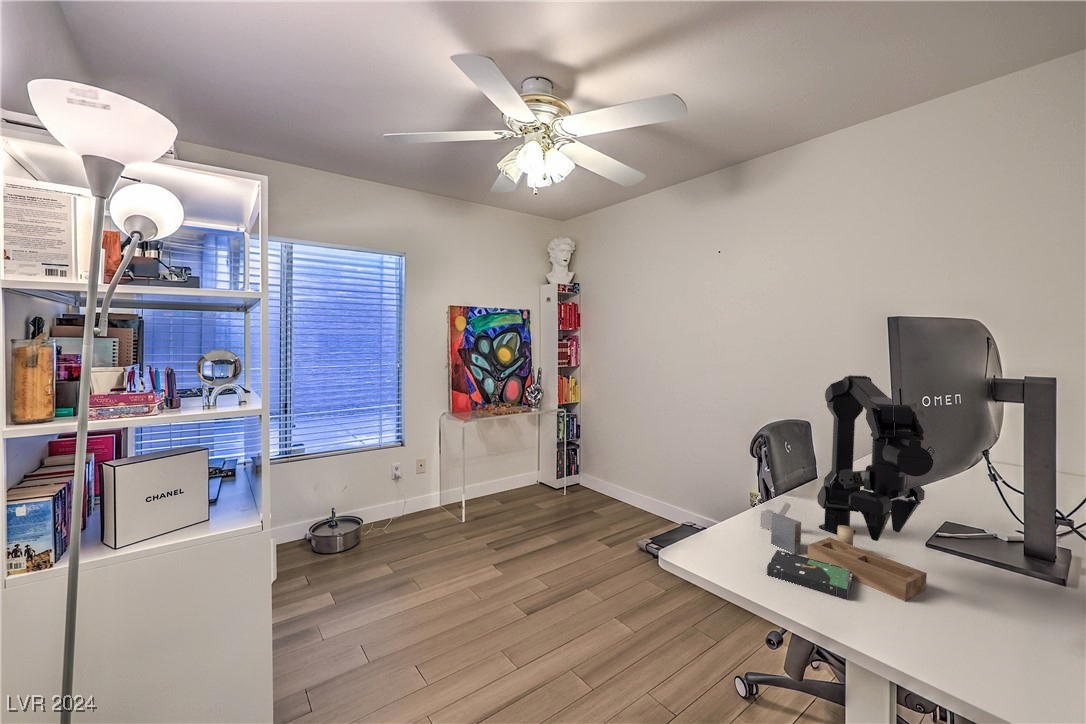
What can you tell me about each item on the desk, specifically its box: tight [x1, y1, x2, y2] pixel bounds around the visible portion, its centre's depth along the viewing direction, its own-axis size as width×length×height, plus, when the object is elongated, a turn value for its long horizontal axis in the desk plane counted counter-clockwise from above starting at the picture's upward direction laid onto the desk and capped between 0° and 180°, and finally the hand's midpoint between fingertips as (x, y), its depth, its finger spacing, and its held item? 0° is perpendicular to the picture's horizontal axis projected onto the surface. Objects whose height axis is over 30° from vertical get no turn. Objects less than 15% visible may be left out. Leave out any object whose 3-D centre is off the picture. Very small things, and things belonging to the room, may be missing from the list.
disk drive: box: [766, 549, 854, 601], centre depth 95 cm, size 10×3×15 cm
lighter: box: [759, 501, 792, 531], centre depth 119 cm, size 7×2×8 cm, turn 57°
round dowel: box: [836, 525, 855, 546], centre depth 107 cm, size 3×3×6 cm
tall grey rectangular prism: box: [770, 513, 802, 555], centre depth 109 cm, size 2×6×8 cm, turn 29°
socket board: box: [807, 536, 928, 602], centre depth 97 cm, size 9×19×4 cm, turn 29°
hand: (885, 535), depth 93 cm, fingers open, 9 cm apart
